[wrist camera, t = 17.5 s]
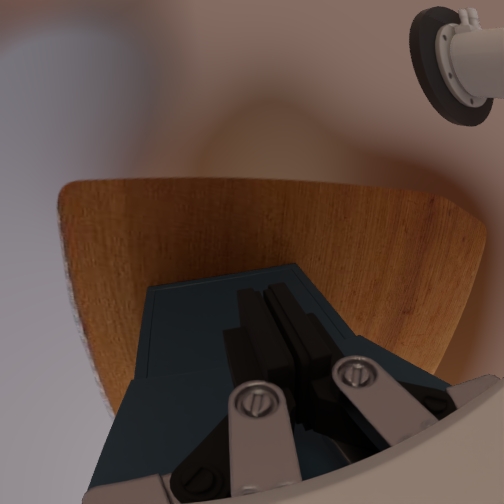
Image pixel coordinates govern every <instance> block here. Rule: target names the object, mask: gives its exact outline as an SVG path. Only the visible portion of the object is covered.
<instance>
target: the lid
mask: <svg viewBox="0 0 504 504" xmlns="http://www.w3.org/2000/svg"><path fill="white" fill-rule="evenodd" d="M335 343H336V344H337V346H338V347H339V349H340V350H341V351H342V353H343V354H344V356H345V357H347V356H353V355H359V356H365V357H368V358H370V359H372V360H374V361H375V362H376V363H378V364H379V365H380V366H381V367H382V368H383V369H384V370H385V371H386V372H387V373H388V374H389V375H391V376H392V377H393V378H394V379H395V380H398V381H402V382H407V383H411V384H416V385H421V386H426V387H431V388H436V389H439V390H442V391H445V389H446V388H447V387H451V386H452V385H450V384H448V383H446V382H445V381H443V380H441V379H439V378H437V377H435V376H434V375H432V374H430V373H428V372H426V371H424V370H422V369H421V368H419V367H417V366H415V365H413V364H411V363H410V362H408V361H406V360H404V359H402V358H400V357H399V356H397V355H395V354H393V353H391V352H390V351H388V350H386V349H384V348H382V347H381V346H379V345H377V344H375V343H373V342H372V341H370V340H368V339H366V338H364V337H363V336H361V335H358V336H355V337H351V338H348V339H345V340H341V341H338V342H335ZM233 390H234V386H233V382H232V378H231V374H230V370H229V367H224V368H218V369H212V370H206V371H200V372H193V373H186V374H179V375H171V376H163V377H154V378H145V379H134V380H131V382H130V384H129V386H128V389H127V391H126V393H125V396H124V398H123V400H122V403H121V405H120V407H119V410H118V412H117V415H116V417H115V419H114V422H113V425H112V427H111V429H110V432H109V434H108V437H107V439H106V442H105V444H104V447H103V450H102V452H101V455H100V457H99V460H98V463H97V465H96V468H95V471H94V474H93V476H92V479H91V482H90V485H89V487H88V490H89V489H90V488H93V487H96V486H100V485H107V484H112V483H118V482H123V481H128V480H133V479H137V478H142V477H146V476H150V475H154V474H159V475H160V476H162V475H166V474H169V473H172V472H173V471H174V470H175V468H176V467H177V466H178V465H179V464H180V463H181V462H182V461H183V460H184V459H185V458H186V457H187V456H188V455H189V454H190V453H191V452H192V451H193V450H194V449H195V448H196V447H197V446H198V445H199V444H200V443H201V442H202V441H203V440H204V439H205V438H206V437H207V436H208V434H209V433H210V432H211V431H212V430H213V429H214V428H215V427H216V426H217V425H218V424H219V423H220V422H221V420H222V419H223V418H224V417H225V416H226V415H227V414H228V401H229V396H230V394H231V393H232V391H233ZM294 443H295V448H296V453H297V458H298V463H299V468H300V473H301V478H302V481H305V480H308V479H311V478H314V477H318V476H321V475H324V474H327V473H329V472H332V471H335V470H338V469H341V468H343V467H342V465H341V464H340V463H339V461H338V460H337V459H336V457H335V456H334V455H333V453H332V452H331V451H330V449H329V448H328V446H327V445H326V444H325V442H324V441H323V439H322V435H321V434H319V433H316V432H314V431H313V429H311V430H308V431H305V429H304V427H303V425H302V423H301V424H296V422H295V428H294ZM88 490H87V491H88Z"/></svg>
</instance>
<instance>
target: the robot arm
mask: <svg viewBox="0 0 504 504" xmlns="http://www.w3.org/2000/svg"><path fill="white" fill-rule="evenodd" d="M458 13H459V17H460V20H461V24H460V25H458V24H446V25H444V26H442V27H441V28H440V29H439V30H438V32H437V35H436V40H435V52H436V59H437V63H438V67H439V70H440V72H441V75H442V77H443V80H444V82H445V84H446V86H447V87H448V89H449V91H450V92H451V93H452V95H453V96H454V97H455V98H456V99H457V100H458V101H459V102H460V103H462V104H463V105H465V106H468V107H480V106H481V105H483V104H484V103H485V101H486V100H487V98H501V99H502V98H503V99H504V27H503V28H492V29H482V28H481V27H480V25H479V18H478V14H477V10H476V9H473V8H466V9H465V10H463V9H459V10H458ZM237 301H238V310H239V319H240V327H237V328H232V329H226V330H222V332H223V339H224V345H225V351H226V356H227V361H228V366H229V370H230V374H231V378H232V382H233V386H234V390H233V391H232V393H231V394H230V396H229V401H228V414H227V415H226V416H225V417H224V418H223V419H222V420H221V422H220V423H219V424H218V425H217V426H216V427H215V428H214V429H213V430H212V431H211V432H210V433H209V434H208V436H207V437H206V438H205V439H204V440H203V441H202V442H201V443H200V444H199V445H198V446H197V447H196V448H195V449H194V450H193V451H192V452H191V453H190V454H189V455H188V456H187V457H186V458H185V459H184V460H183V461H182V462H181V463H180V464H179V465H178V466H177V467H176V468H175V470H174V471H173V472H172V473H169V474H166V475H162V476H160V475H159V474H154V475H150V476H146V477H142V478H137V479H133V480H128V481H123V482H118V483H112V484H107V485H100V486H96V487H93V488H90V489H89V490H88V491H87V492H86V493H85V494H84V496H83V499H82V504H504V377H503V378H502V379H500V378H498V377H496V376H495V375H490V374H489V375H484V376H481V377H478V378H475V379H473V380H469V381H466V382H463V383H460V384H457V385H454V386H451V387H447V388H446V389H445V391H442V390H439V389H436V388H431V387H426V386H421V385H416V384H411V383H407V382H402V381H398V380H395V379H394V378H393V377H392V376H391V375H389V374H388V373H387V372H386V371H385V370H384V369H383V368H382V367H381V366H380V365H379V364H378V363H376V362H375V361H374V360H372V359H370V358H368V357H365V356H359V355H353V356H347V357H345V356H344V354H343V353H342V351H341V350H340V349H339V347H338V346H337V344H336V343H335V342H334V340H333V339H332V337H331V336H330V335H329V333H328V332H327V330H326V329H325V328H324V326H323V325H322V323H321V322H320V321H319V319H318V318H317V316H316V315H315V314H314V313H308V314H306V313H305V312H304V310H303V309H302V308H301V306H300V305H299V303H298V302H297V300H296V299H295V297H294V296H293V294H292V293H291V291H290V290H289V288H288V287H287V285H286V284H285V283H284V282H281V283H275V284H270V285H268V289H264V290H263V297H262V295H261V293H260V291H254V289H253V288H246V289H240V290H237ZM295 422H296V424H301V423H302V425H303V427H304V429H305V431H308V430H311V429H313V431H314V432H316V433H319V434H321V435H322V439H323V441H324V442H325V444H326V445H327V446H328V448H329V449H330V451H331V452H332V453H333V455H334V456H335V457H336V459H337V460H338V461H339V463H340V464H341V465H342V467H343V468H341V469H338V470H335V471H332V472H329V473H327V474H324V475H321V476H318V477H314V478H311V479H308V480H305V481H302V478H301V473H300V468H299V463H298V458H297V453H296V448H295V443H294V428H295Z"/></svg>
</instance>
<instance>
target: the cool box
mask: <svg viewBox="0 0 504 504" xmlns="http://www.w3.org/2000/svg"><path fill="white" fill-rule="evenodd" d="M281 282H284V283H285V284H286V285H287V287H288V288H289V290H290V291H291V293H292V294H293V296H294V297H295V299H296V300H297V302H298V303H299V305H300V306H301V308H302V309H303V310H304V312H305V313H306V314H308V313H314V314H315V315H316V316H317V318H318V319H319V321H320V322H321V323H322V325H323V326H324V328H325V329H326V330H327V332H328V333H329V335H330V336H331V337H332V339H333V340H334V342H338V341H341V340H345V339H348V338H351V337H355V336H356V335H355V334H354V333H353V331H352V330H351V329H350V328H349V326H348V325H347V324H346V323H345V322H344V320H343V319H342V318H341V317H340V315H339V314H338V313H337V312H336V311H335V309H334V308H333V307H332V306H331V305H330V303H329V302H328V301H327V300H326V298H325V297H324V296H323V295H322V294H321V292H320V291H319V290H318V289H317V288H316V286H315V285H314V284H313V283H312V282H311V280H310V279H309V278H308V277H307V276H306V275H305V273H304V272H303V271H302V270H301V269H300V267H299V266H298V265H297V264H296V263H293V264H288V265H282V266H276V267H270V268H264V269H258V270H252V271H246V272H240V273H234V274H228V275H222V276H216V277H209V278H203V279H197V280H190V281H184V282H178V283H171V284H165V285H158V286H151V287H148V289H147V294H146V300H145V305H144V311H143V317H142V323H141V330H140V337H139V344H138V351H137V359H136V367H135V375H134V379H145V378H154V377H163V376H171V375H179V374H186V373H193V372H200V371H206V370H212V369H218V368H224V367H229V366H228V361H227V356H226V351H225V345H224V339H223V332H222V330H226V329H232V328H237V327H240V319H239V310H238V301H237V290H240V289H246V288H253V289H254V291H260V293H261V295H262V297H263V290H264V289H268V285H270V284H275V283H281Z"/></svg>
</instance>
